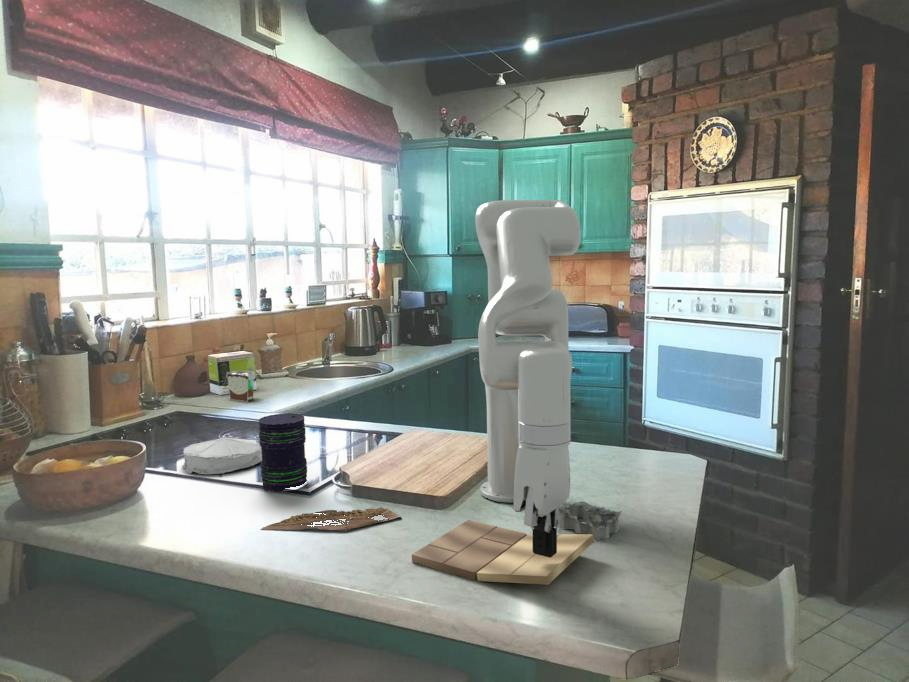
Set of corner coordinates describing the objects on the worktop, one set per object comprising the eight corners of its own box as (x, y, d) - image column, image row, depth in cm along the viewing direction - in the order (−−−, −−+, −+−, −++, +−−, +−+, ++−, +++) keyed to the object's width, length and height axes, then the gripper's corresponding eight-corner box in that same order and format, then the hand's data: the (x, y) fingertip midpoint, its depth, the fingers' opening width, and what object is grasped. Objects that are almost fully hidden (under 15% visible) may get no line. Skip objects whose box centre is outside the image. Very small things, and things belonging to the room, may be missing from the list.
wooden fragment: (400, 508, 132) (400, 503, 132) (402, 530, 121) (402, 525, 121) (267, 517, 129) (267, 512, 129) (257, 540, 118) (257, 534, 118)
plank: (529, 540, 115) (528, 533, 115) (594, 541, 108) (592, 534, 108) (477, 580, 101) (476, 572, 101) (548, 584, 94) (546, 575, 94)
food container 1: (171, 463, 166) (168, 436, 165) (249, 447, 178) (247, 422, 177) (194, 484, 150) (191, 455, 149) (278, 465, 162) (276, 438, 161)
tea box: (247, 386, 266) (244, 350, 264) (257, 390, 258) (255, 352, 257) (209, 392, 256) (207, 354, 255) (219, 395, 249) (216, 356, 247)
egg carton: (551, 527, 122) (551, 505, 121) (575, 515, 127) (575, 494, 126) (601, 543, 114) (601, 520, 114) (625, 530, 119) (625, 508, 119)
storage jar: (273, 496, 140) (269, 426, 138) (254, 484, 147) (250, 418, 145) (315, 485, 146) (313, 418, 144) (295, 474, 154) (292, 411, 152)
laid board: (468, 526, 122) (468, 519, 122) (526, 540, 115) (526, 533, 115) (411, 561, 108) (411, 554, 108) (474, 580, 101) (474, 572, 101)
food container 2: (264, 399, 241) (262, 371, 240) (250, 402, 236) (249, 374, 234) (240, 396, 247) (239, 369, 246) (227, 399, 242) (225, 372, 241)
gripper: (543, 419, 105) (544, 531, 107) (496, 441, 93) (497, 567, 95) (588, 425, 101) (588, 541, 103) (544, 448, 89) (545, 580, 91)
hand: (544, 553), depth 99 cm, fingers closed
